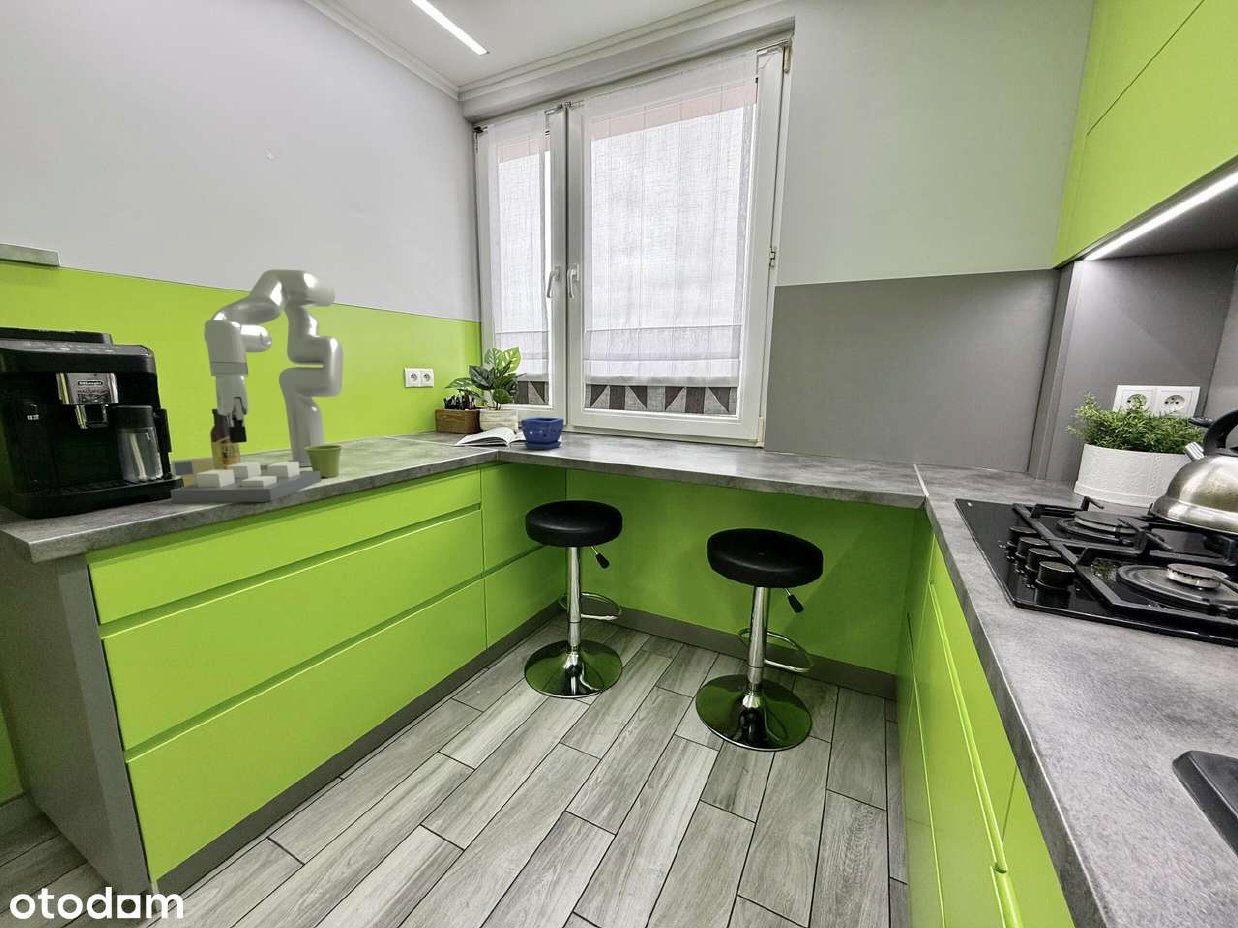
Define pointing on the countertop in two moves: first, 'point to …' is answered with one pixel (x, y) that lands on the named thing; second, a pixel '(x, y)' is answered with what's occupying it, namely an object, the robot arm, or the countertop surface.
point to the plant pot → (325, 459)
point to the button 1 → (215, 478)
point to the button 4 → (283, 469)
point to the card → (191, 468)
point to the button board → (245, 490)
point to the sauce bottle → (222, 443)
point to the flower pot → (542, 432)
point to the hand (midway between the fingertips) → (238, 442)
